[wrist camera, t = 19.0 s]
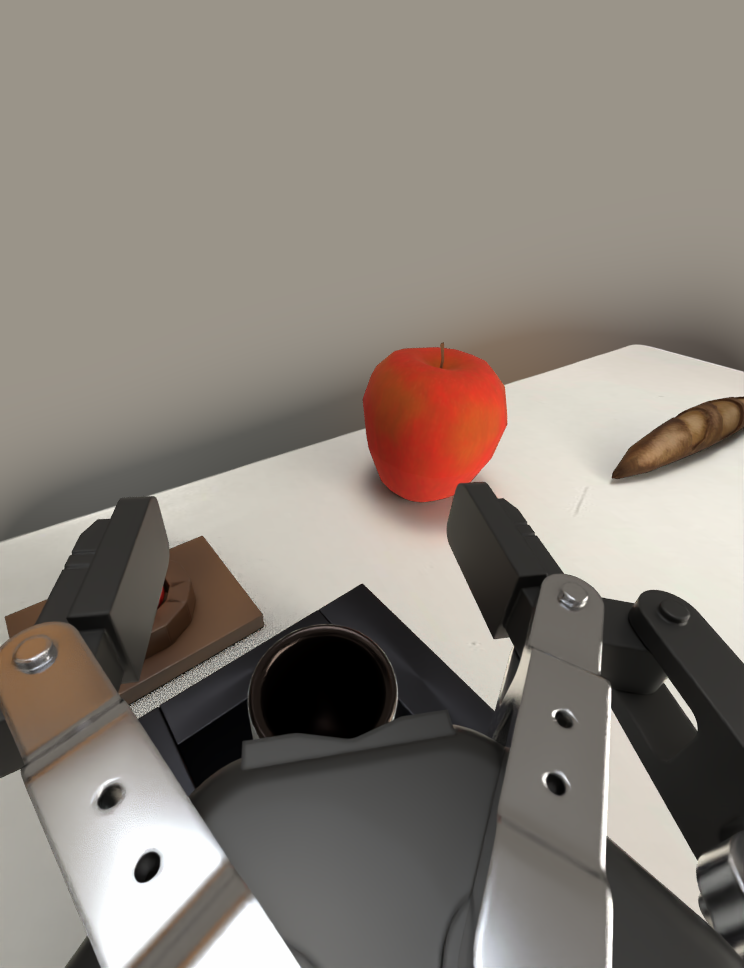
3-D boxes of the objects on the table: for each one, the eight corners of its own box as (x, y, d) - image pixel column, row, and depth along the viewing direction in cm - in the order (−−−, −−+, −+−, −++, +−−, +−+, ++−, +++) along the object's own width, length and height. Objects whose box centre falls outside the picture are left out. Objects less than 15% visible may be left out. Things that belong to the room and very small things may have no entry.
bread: (631, 497, 43) (655, 454, 40) (587, 472, 46) (606, 430, 43) (775, 420, 61) (798, 387, 58) (737, 405, 65) (756, 374, 62)
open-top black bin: (242, 1197, 12) (216, 1236, 9) (115, 809, 19) (76, 754, 16) (518, 819, 20) (556, 769, 17) (356, 641, 27) (362, 582, 24)
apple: (444, 555, 34) (485, 388, 26) (329, 494, 39) (332, 339, 31) (503, 486, 43) (548, 344, 34) (401, 444, 48) (419, 311, 40)
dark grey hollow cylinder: (370, 753, 21) (392, 622, 15) (375, 876, 17) (405, 766, 11) (276, 755, 21) (260, 621, 15) (261, 880, 17) (231, 770, 11)
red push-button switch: (42, 755, 21) (17, 724, 19) (12, 628, 26) (-10, 596, 24) (264, 626, 28) (260, 595, 26) (205, 546, 33) (198, 516, 31)
